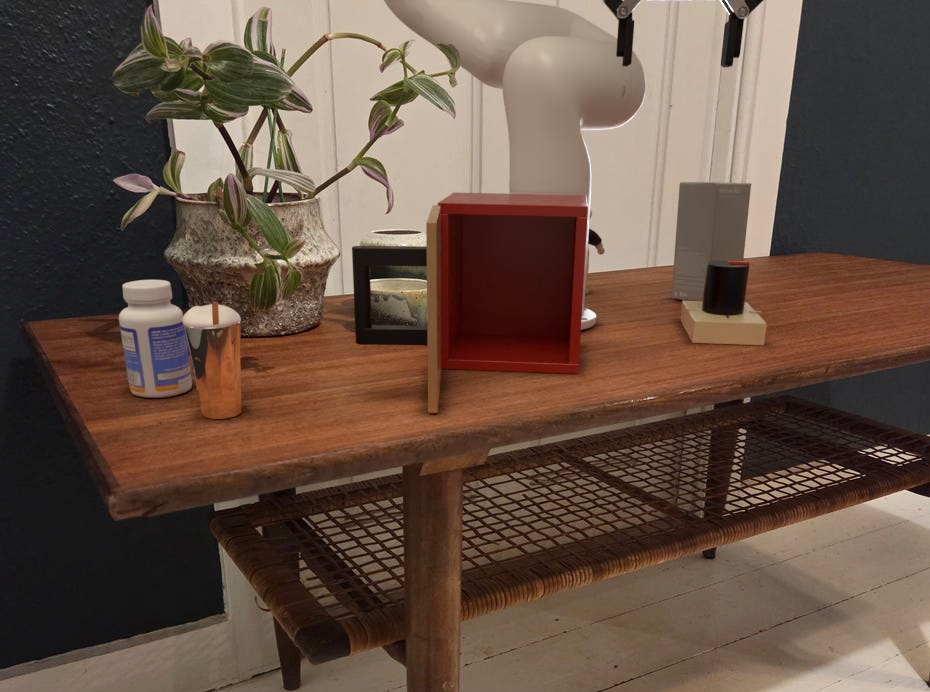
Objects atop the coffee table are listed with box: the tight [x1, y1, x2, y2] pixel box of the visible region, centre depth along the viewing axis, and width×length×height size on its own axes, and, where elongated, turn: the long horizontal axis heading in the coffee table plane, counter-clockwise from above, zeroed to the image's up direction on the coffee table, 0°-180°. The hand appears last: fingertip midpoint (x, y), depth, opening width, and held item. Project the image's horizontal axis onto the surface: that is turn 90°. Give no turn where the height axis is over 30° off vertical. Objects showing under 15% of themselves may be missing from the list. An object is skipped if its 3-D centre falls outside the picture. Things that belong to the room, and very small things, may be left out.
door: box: [351, 204, 443, 414], centre depth 78 cm, size 7×14×16 cm, turn 1°
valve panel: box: [680, 300, 768, 346], centre depth 105 cm, size 12×9×3 cm
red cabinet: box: [437, 192, 588, 375], centre depth 90 cm, size 12×14×16 cm
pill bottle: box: [118, 279, 193, 399], centre depth 79 cm, size 5×5×10 cm
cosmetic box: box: [670, 181, 752, 301], centre depth 121 cm, size 8×7×16 cm
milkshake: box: [182, 301, 242, 420], centre depth 72 cm, size 4×5×10 cm
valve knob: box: [702, 260, 750, 315], centre depth 103 cm, size 5×5×6 cm
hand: (676, 66), depth 86 cm, fingers open, 9 cm apart
